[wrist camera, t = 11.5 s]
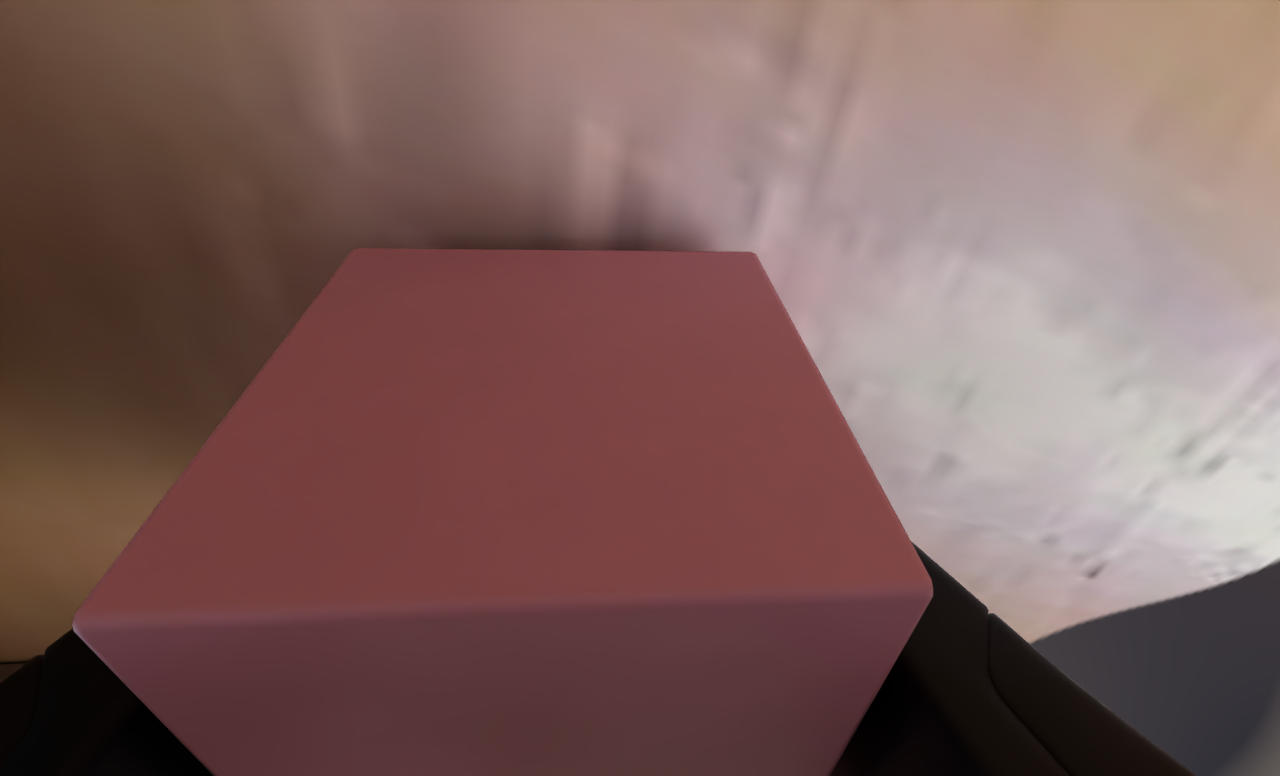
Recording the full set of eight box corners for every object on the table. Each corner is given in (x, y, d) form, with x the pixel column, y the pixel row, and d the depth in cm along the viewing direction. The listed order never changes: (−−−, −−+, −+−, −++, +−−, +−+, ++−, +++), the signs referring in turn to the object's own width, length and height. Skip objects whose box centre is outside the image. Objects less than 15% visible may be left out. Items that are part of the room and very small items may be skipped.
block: (712, 512, 11) (787, 857, 7) (424, 519, 10) (320, 892, 6) (756, 248, 8) (945, 589, 4) (351, 245, 7) (54, 624, 3)
